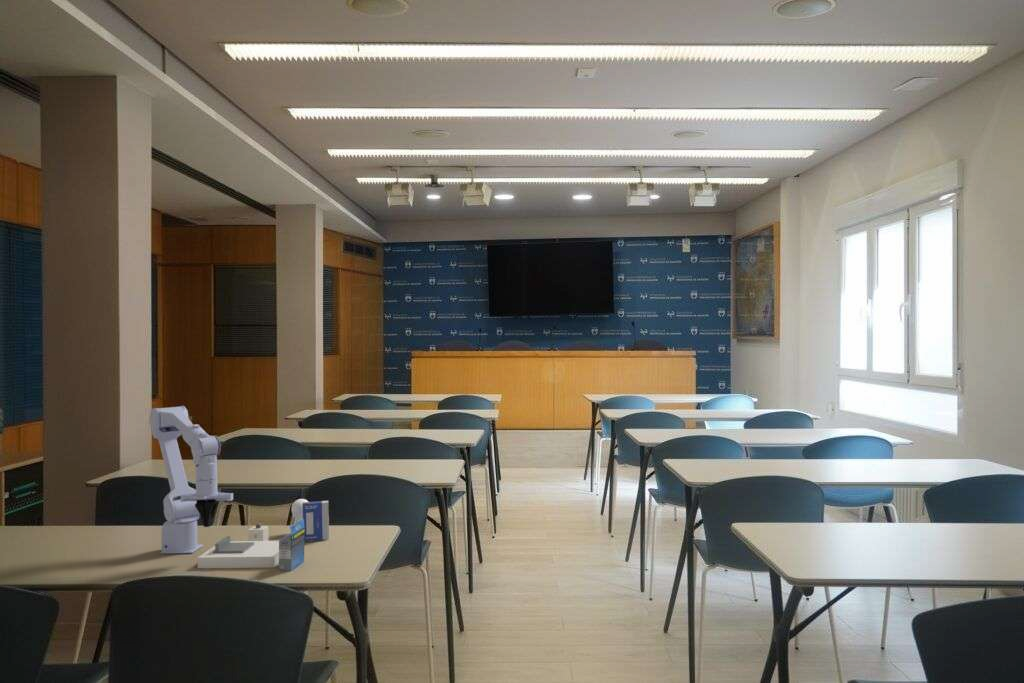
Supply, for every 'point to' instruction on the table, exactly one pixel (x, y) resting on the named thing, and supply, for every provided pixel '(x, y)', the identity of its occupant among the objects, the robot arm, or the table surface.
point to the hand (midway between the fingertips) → (207, 526)
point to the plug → (258, 533)
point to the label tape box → (292, 548)
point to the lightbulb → (298, 510)
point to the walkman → (316, 520)
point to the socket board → (243, 556)
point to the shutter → (231, 546)
